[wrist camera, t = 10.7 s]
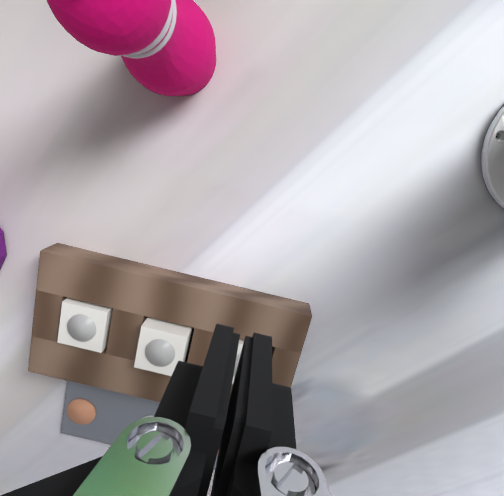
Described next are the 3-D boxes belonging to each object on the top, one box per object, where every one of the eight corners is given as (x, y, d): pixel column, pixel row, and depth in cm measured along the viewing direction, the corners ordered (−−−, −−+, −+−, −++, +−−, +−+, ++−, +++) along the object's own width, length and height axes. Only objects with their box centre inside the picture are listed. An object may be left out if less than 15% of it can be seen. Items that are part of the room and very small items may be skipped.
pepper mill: (234, 34, 34) (186, -118, 14) (203, 115, 36) (122, 76, 16) (157, -3, 33) (-1, -211, 14) (129, 81, 35) (-45, -1, 16)
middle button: (193, 323, 39) (187, 338, 36) (185, 361, 40) (178, 378, 37) (150, 312, 39) (140, 326, 36) (143, 351, 40) (133, 368, 37)
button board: (308, 303, 40) (311, 316, 37) (277, 410, 43) (277, 430, 40) (57, 243, 39) (40, 250, 36) (44, 355, 42) (28, 371, 40)
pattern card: (246, 419, 43) (245, 423, 43) (232, 470, 45) (231, 474, 44) (69, 377, 43) (66, 381, 42) (62, 430, 45) (59, 433, 44)
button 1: (119, 300, 40) (107, 313, 37) (113, 338, 41) (100, 353, 38) (77, 290, 40) (61, 302, 37) (72, 328, 41) (56, 343, 38)
